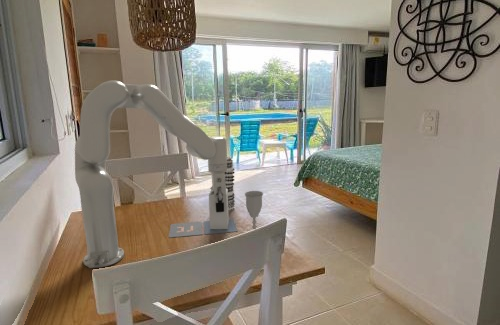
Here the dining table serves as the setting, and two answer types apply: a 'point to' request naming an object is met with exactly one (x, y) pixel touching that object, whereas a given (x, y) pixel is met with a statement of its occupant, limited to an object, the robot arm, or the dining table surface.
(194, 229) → the tile
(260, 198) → the chalice
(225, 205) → the milk carton
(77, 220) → the dining table surface
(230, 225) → the mat
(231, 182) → the decorative candle
